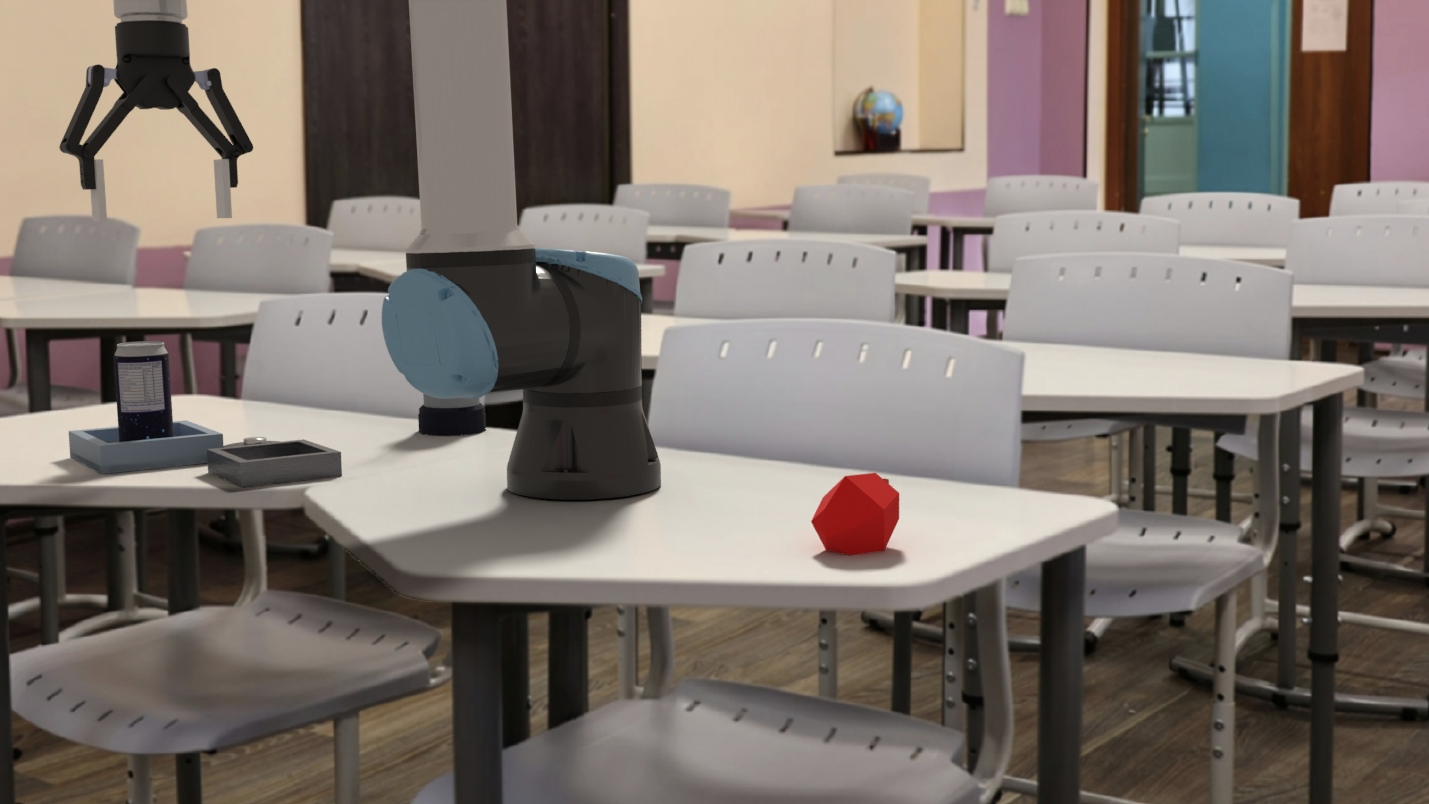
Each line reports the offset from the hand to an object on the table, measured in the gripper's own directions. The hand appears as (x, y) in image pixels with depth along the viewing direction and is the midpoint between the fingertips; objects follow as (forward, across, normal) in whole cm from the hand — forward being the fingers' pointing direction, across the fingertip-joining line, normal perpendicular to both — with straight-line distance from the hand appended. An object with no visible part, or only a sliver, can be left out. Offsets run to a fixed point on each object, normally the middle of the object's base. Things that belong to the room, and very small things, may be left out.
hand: (163, 220), depth 178 cm
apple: (+27, -28, +82) cm, 91 cm away
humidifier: (+26, -32, +3) cm, 42 cm away
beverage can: (+26, +3, 0) cm, 26 cm away
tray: (+26, +4, 0) cm, 26 cm away
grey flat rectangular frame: (+26, -4, +15) cm, 31 cm away
